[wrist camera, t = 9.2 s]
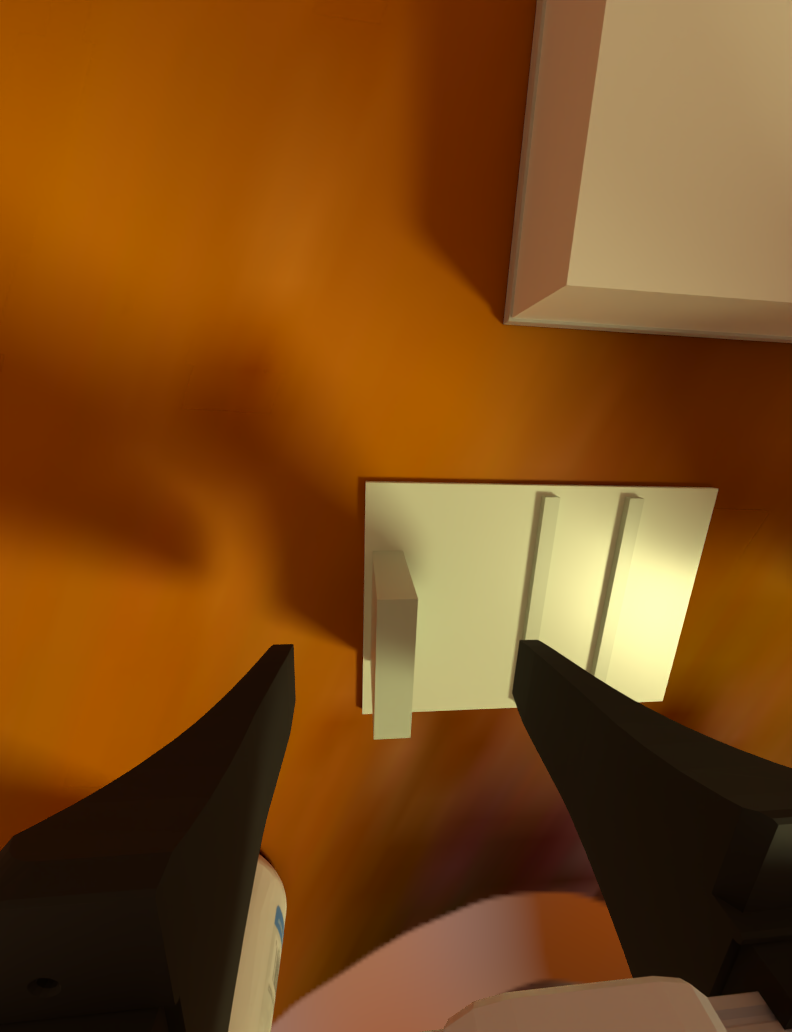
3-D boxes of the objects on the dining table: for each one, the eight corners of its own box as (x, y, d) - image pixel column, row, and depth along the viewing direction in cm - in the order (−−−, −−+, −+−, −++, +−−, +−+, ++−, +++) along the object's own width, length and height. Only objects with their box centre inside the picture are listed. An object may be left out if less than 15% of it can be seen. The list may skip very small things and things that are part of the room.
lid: (701, 485, 16) (836, 514, 12) (650, 689, 19) (743, 778, 14) (365, 478, 15) (368, 509, 10) (362, 700, 18) (363, 803, 13)
